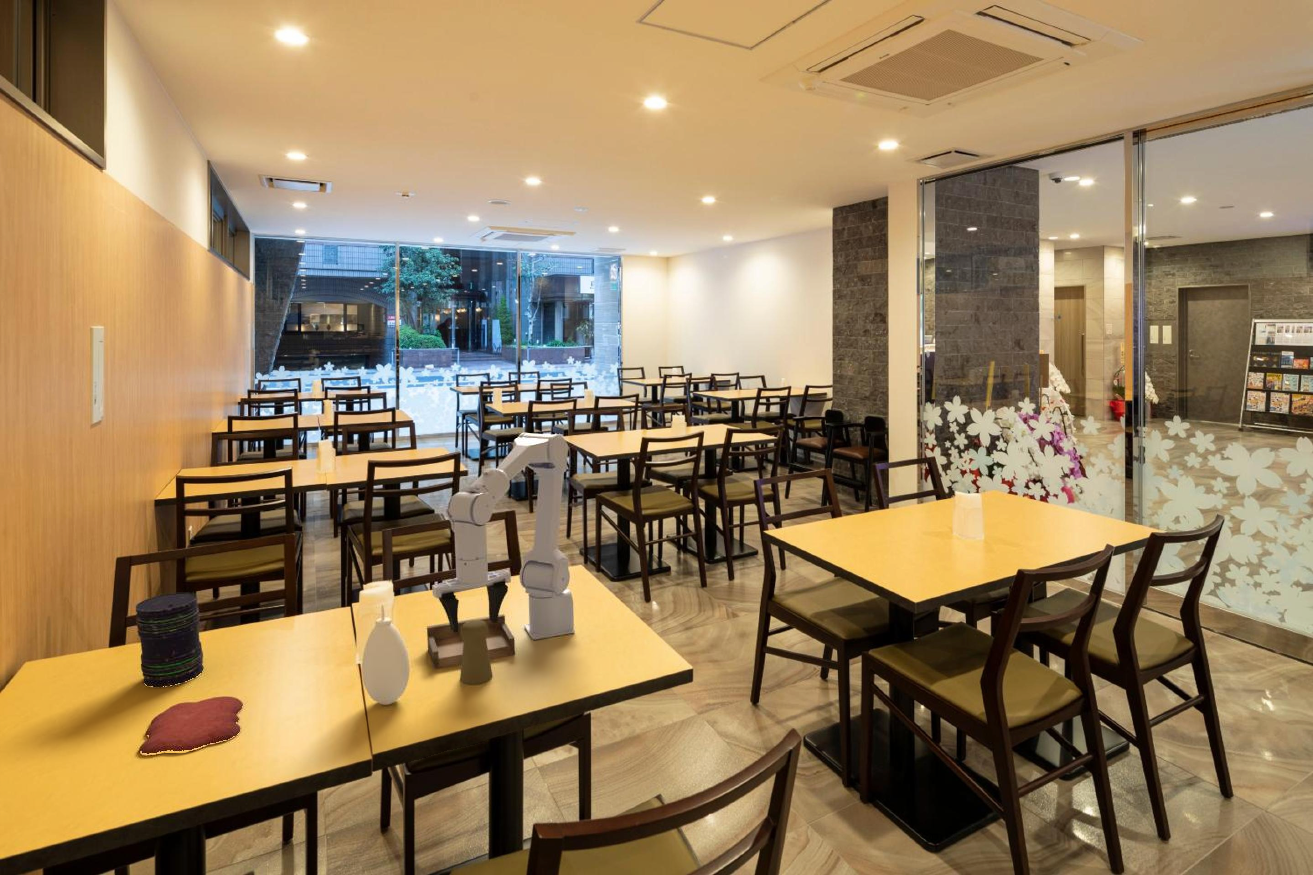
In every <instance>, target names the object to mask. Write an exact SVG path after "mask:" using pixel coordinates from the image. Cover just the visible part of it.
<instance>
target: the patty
mask: <svg viewBox="0 0 1313 875" xmlns="http://www.w3.org/2000/svg"><path fill="white" fill-rule="evenodd" d="M243 705H244V703H243V702H242V700H240V699H239V698H237V697H234V696H229V695H228V696H217V697H216V696H214V697H210V698H207V699H204V700H199V701H195V702H193V701H191V702H189V701H188V702H181V703H180V702H179V703H176V704H174V705H171V706H170V707H168V708H167V709H165V710H164V711H162V712H160V713H159V714H157V715H155V717H153V719H152V720H151V722H150V725H151V726H149V727H148V728H147V730H146V731H145V736H146V735H149V738H148V739H147V740H145V741H143V743H142V744H141V745H140V746H139V748H138V751H139V750H140V751H142V753H147V754H149V753H157V752H159V751H160V752H161V751H167V750H170V751H171V750H173V751H182V750H183V751H184V750H192V749H194V748H198V747H201V746H203V745H207V744H210V743H216V742H219V741H223V740H228V739H230V738H232V737H233V736H235V735H237V734H238V733H239V732H240V733H241V731H240V729H241V730H242V728H241V726H240V725H239V724H238V723H239V722H238V720H239V721H240V717H239V716H238V714H239V713H240V712H241V711H242V710H243V708H242V706H243ZM243 707H244V706H243ZM241 709H242V710H241ZM240 710H241V711H240ZM239 711H240V712H239ZM238 712H239V713H238ZM237 713H238V714H237ZM236 714H237V715H236ZM236 722H238V723H237V724H236ZM240 733H239V734H240ZM237 736H238V735H237Z"/></svg>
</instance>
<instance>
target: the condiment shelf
mask: <svg viewBox="0 0 1313 875" xmlns="http://www.w3.org/2000/svg"><path fill="white" fill-rule="evenodd" d="M471 620H481V621H484V622H486V624H487V625H488V628H489V632H488V636H487V638H486V642H487V647H488V653H489V658H490V660H492V659H497V658H502V657H508V656H513V655H515V654H516V650H515V649H516V647H515V645H516V644H515V643H516V642H515V641H516V640H515V637H514V635H513V634H512V631H511V630H510V629H509V627H508V625H507V624H506V615H505V614H504V613H503V614H498V619H497V622H496V623H493V622H492V621H491V620H490V618H489V616H483V617H478V618H472V619H465V620H458V632H455V633H454V632H453V631H452V630H451V628H450V623H449V622H448V623H447V622H446V623H445V622H444V623H441V624H434V625H428V626H426V636H427V652H428V653H429V654H428V655H429V657H430V661H431V663H432V664H431V665H432V668H433V670H436V669H443V668H448V667H455V666H459V665H461V664H462V653H463V643H464V641H463V640H462V638H461V635H460V630H461V627H462V625H463V624H464V623H466V622H468V621H471Z"/></svg>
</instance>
